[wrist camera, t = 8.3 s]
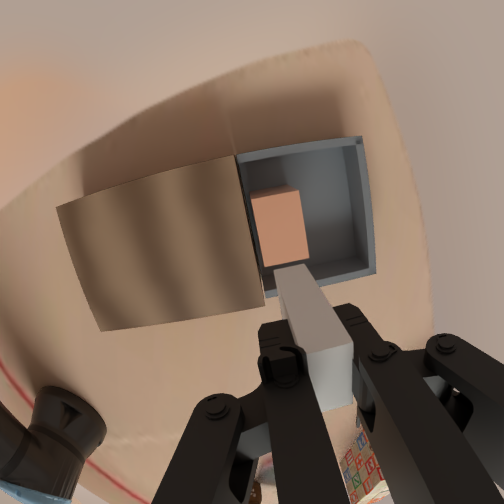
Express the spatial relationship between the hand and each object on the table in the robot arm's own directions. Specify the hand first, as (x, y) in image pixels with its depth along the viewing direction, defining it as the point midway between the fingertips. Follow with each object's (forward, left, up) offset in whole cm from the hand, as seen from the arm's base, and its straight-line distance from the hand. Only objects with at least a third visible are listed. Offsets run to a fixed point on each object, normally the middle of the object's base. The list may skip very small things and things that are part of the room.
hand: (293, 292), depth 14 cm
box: (+4, 0, -18) cm, 18 cm away
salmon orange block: (-1, 0, -14) cm, 14 cm away
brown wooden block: (-11, 0, -18) cm, 21 cm away
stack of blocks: (+13, -44, -18) cm, 50 cm away
